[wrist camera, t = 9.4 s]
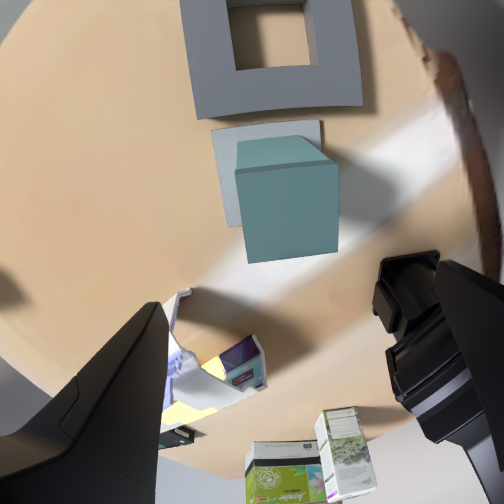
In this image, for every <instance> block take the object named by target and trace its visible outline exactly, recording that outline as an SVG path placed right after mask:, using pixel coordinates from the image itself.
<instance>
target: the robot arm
mask: <svg viewBox="0 0 504 504" xmlns="http://www.w3.org/2000/svg"><path fill="white" fill-rule="evenodd" d="M435 255H436V256H435ZM439 259H440V253H439V252H438V251H437V250H434V251H428V252H422V253H416V254H409V255H403V256H397V257H391V258H385V259H383V260H382V261H381V263H380V268H379V275H378V281H377V282H376V284H375V291H374V297H373V302H372V304H373V310H372V311H373V314H374V315H375V316H379V317H380V319H381V321H382V323H383V325H384V327H385V329H386V331H387V333H389V334H391V333H393V335H394V337H395V339H396V341H397V343H396V344H395V345H394V346H392V347H390V348H388V349H387V350H386V351H385V353H386V358H387V359H386V360H387V365H388V370H389V375H390V380H391V385H392V391H393V393H394V395H395V399H396V401H397V402H400V403H401V404H402V405H403V407H404V408H405V409H406V410H408V411H409V412H411V413H413V414H414V415H415V417H416V419H417V420H418V422H419V424H420V426H421V428H422V431H423V433H424V435H425V437H426V438H427V439H429V440H430V441H432V442H434V443H436V444H438V443H440V442H442V441H443V440H447V441H450V442H452V443H455V444H457V445H460V446H462V447H463V449H464V451H465V453H466V455H467V456H468V458H469V460H470V462H471V464H472V466H473V468H474V470H475V473H476V475H477V477H478V479H479V481H480V483H481V485H482V487H483V490H484V492H485V494H486V496H487V498H488V501H489V503H490V504H504V285H502V284H500V283H498V282H496V281H494V280H492V279H490V278H488V277H486V276H484V275H482V274H480V273H478V272H476V271H474V270H472V269H470V268H468V267H465V266H463V265H461V264H459V263H457V262H455V261H453V260H450V259H447V260H442V261H440V262H439ZM386 263H387V265H385V264H386ZM168 348H169V322H168V319H167V317H166V314H165V312H164V309H163V307H162V305H161V303H160V302H158V301H156V302H147V303H146V304H145V305H144V306H143V307H142V308H141V309H140V310H139V311H138V312H137V313H136V314H135V315H134V316H133V317H132V318H131V319H130V320H129V321H128V322H127V323H126V324H125V325H124V326H123V327H122V328H121V329H120V330H119V331H118V332H117V333H116V334H115V335H114V336H113V337H112V338H111V339H110V340H109V341H108V342H107V343H106V344H105V345H104V346H103V347H102V348H101V349H100V350H99V351H98V352H97V353H96V354H95V355H94V356H93V357H92V358H91V359H90V360H89V362H88V363H87V364H86V365H85V366H84V367H83V368H82V369H81V370H80V371H79V372H78V373H77V376H74V377H73V378H72V379H71V381H70V382H69V383H68V384H67V385H66V386H65V387H64V388H63V389H62V390H61V391H60V392H59V393H58V394H57V395H56V396H55V397H54V398H53V399H52V400H51V401H50V402H49V403H48V404H47V405H46V406H45V407H43V408H42V409H41V410H40V411H39V412H38V413H37V414H36V415H35V416H33V417H32V418H31V419H30V420H29V421H28V422H27V423H26V424H25V425H24V426H23V427H21V428H20V429H19V430H17V431H16V432H14V433H12V434H9V435H5V436H0V504H155V487H156V473H157V460H158V449H159V439H160V429H161V420H162V411H163V403H164V395H165V387H166V380H167V372H168Z"/></svg>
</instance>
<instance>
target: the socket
mask: <svg viewBox="0 0 504 504" xmlns="http://www.w3.org/2000/svg"><path fill="white" fill-rule="evenodd" d="M179 1H180V8H181V16H182V23H183V31H184V38H185V45H186V52H187V58H188V65H189V71H190V78H191V84H192V91H193V97H194V103H195V109H196V115H197V120H201V119H206V118H212V117H218V116H225V115H232V114H239V113H246V112H255V111H264V110H273V109H285V108H299V107H317V106H363V96H362V83H361V71H360V62H359V53H358V45H357V37H356V30H355V24H354V17H353V11H352V6H351V0H179ZM269 4H302V7H303V13H304V20H305V26H306V33H307V40H308V47H309V55H310V63H311V65H301V66H281V67H268V68H257V69H248V70H240V71H236V67H235V60H234V54H233V47H232V40H231V33H230V26H229V19H228V13H227V8H234V7H243V6H254V5H269Z"/></svg>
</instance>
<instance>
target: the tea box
mask: <svg viewBox="0 0 504 504" xmlns="http://www.w3.org/2000/svg"><path fill="white" fill-rule="evenodd" d="M245 479H246V504H342V501H337V502H331V503H328V501H327V495H326V489H325V483H324V476H323V470H322V463H321V458H320V452H319V446H318V441H311V442H253V444H252V446H251V448H250V450H249V452H248V454H247V456H246V458H245Z"/></svg>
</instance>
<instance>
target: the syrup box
mask: <svg viewBox="0 0 504 504" xmlns="http://www.w3.org/2000/svg"><path fill="white" fill-rule="evenodd" d="M315 432H316V436H317V441H318V446H319V452H320V458H321V463H322V470H323V476H324V483H325V489H326V495H327V501H328V503H331V502H337V501H342V500H346V499H350V498H355V497H359V496H363V495H366V494H368V493H370V492H372V491H373V490H375V489H376V488H377V482H376V478H375V474H374V470H373V466H372V462H371V458H370V455H369V451H368V447H367V443H366V439H365V436H364V432H363V429H362V425H361V422H360V418H359V414H358V411H357V408H356V407H350V408H343V409H336V410H328V411H322V413H321V414H320V416H319V418H318V420H317V422H316V424H315Z"/></svg>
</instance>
